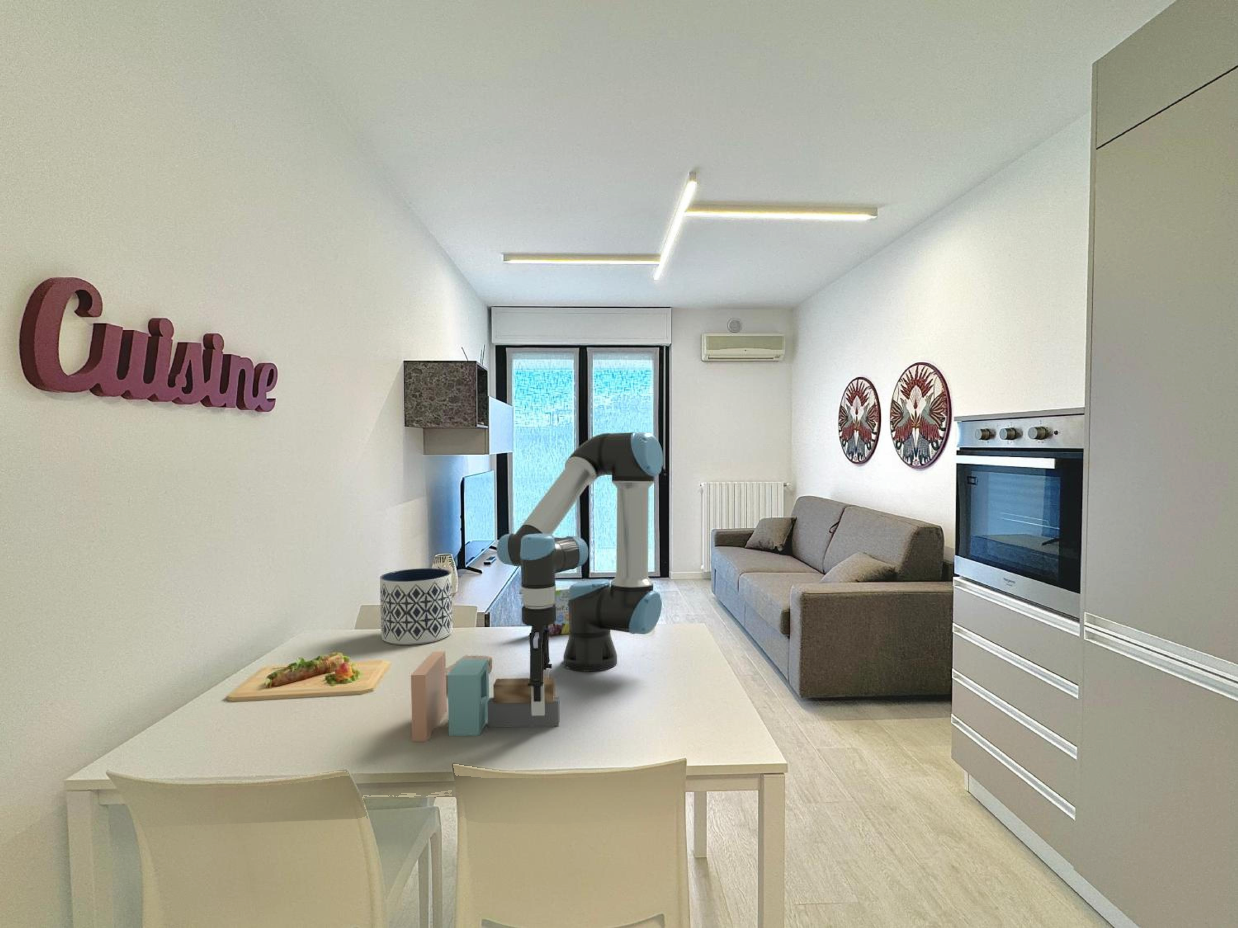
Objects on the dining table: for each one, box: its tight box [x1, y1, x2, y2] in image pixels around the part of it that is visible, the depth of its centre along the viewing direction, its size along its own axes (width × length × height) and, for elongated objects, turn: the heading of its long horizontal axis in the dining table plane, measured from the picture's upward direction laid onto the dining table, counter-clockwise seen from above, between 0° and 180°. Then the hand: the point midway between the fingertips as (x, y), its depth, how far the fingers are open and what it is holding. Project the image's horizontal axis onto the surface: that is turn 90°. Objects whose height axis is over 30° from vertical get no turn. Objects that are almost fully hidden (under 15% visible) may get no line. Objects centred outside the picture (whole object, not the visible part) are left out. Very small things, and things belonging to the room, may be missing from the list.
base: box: [410, 650, 448, 742], centre depth 148 cm, size 3×16×14 cm, turn 0°
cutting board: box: [226, 651, 392, 702], centre depth 178 cm, size 35×23×8 cm
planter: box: [379, 567, 454, 646], centre depth 219 cm, size 22×22×20 cm
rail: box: [487, 695, 561, 728], centre depth 148 cm, size 16×3×6 cm, turn 90°
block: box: [447, 658, 490, 737], centre depth 148 cm, size 6×11×13 cm, turn 0°
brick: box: [446, 654, 493, 693], centre depth 177 cm, size 17×8×5 cm, turn 165°
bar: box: [492, 677, 556, 703], centre depth 148 cm, size 13×4×4 cm, turn 90°
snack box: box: [548, 584, 572, 637], centre depth 221 cm, size 21×6×15 cm, turn 117°
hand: (540, 706), depth 148 cm, fingers open, 9 cm apart
